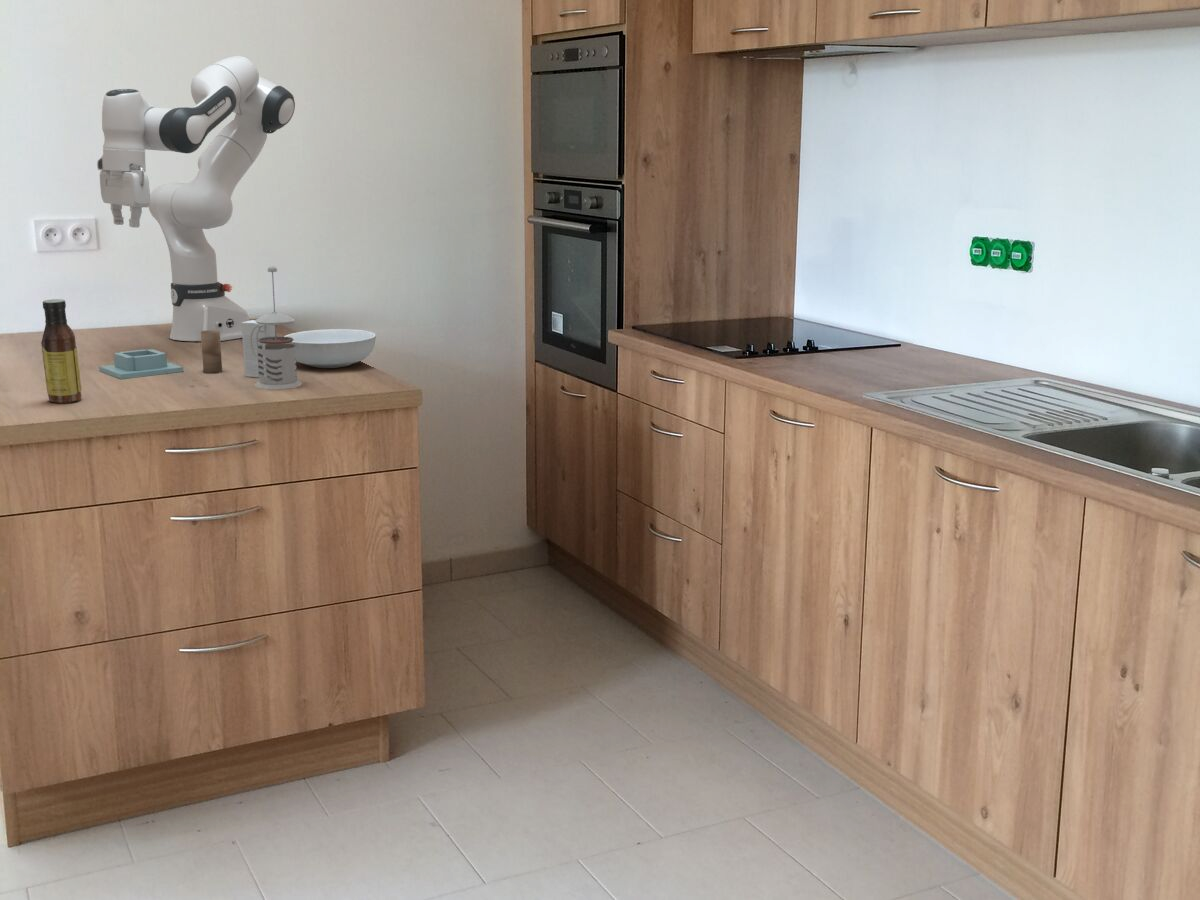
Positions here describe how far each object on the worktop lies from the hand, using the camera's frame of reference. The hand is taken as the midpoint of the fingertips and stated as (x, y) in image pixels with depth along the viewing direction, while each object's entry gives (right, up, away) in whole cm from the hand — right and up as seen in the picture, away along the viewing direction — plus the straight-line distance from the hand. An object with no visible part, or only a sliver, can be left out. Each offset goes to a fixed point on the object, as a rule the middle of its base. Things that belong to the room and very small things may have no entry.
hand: (126, 226), depth 278 cm
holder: (+6, -33, -6) cm, 35 cm away
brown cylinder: (+21, -33, -6) cm, 40 cm away
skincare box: (+33, -35, -10) cm, 49 cm away
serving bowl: (+45, -31, +5) cm, 55 cm away
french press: (+39, -37, -18) cm, 56 cm away
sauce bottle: (+2, -41, -37) cm, 56 cm away
